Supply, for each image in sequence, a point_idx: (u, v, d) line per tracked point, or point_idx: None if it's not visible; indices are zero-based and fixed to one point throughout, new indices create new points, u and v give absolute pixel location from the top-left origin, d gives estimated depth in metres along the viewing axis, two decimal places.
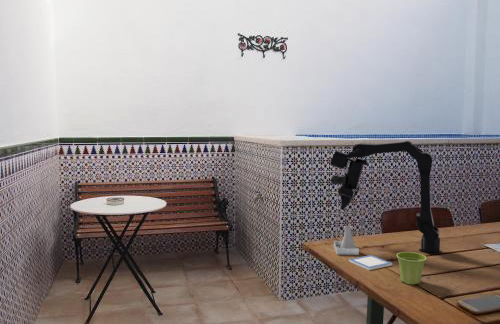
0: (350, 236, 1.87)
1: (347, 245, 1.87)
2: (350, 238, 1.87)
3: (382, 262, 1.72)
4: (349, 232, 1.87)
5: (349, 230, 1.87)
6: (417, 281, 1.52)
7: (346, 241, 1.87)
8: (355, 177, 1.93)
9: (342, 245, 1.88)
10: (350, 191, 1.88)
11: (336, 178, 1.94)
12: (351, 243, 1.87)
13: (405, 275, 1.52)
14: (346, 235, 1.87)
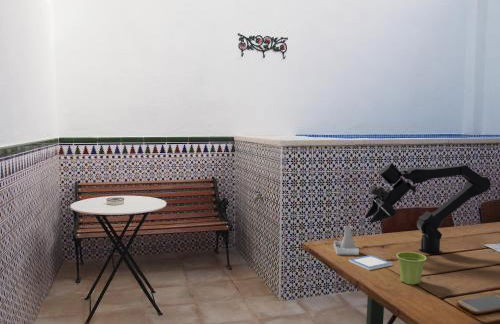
0: (350, 236, 1.87)
1: (347, 245, 1.87)
2: (350, 238, 1.87)
3: (382, 262, 1.72)
4: (349, 232, 1.87)
5: (349, 230, 1.87)
6: (417, 281, 1.52)
7: (346, 241, 1.87)
8: (398, 198, 1.83)
9: (342, 245, 1.88)
10: (394, 211, 1.77)
11: (381, 190, 1.82)
12: (351, 243, 1.87)
13: (405, 275, 1.52)
14: (346, 235, 1.87)
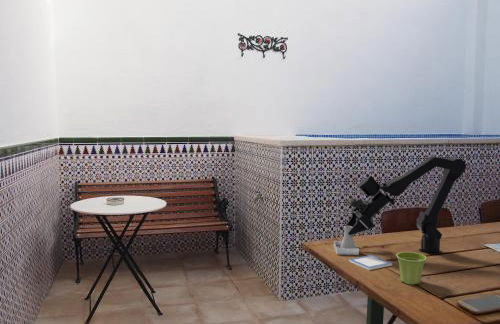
0: (350, 236, 1.87)
1: (347, 245, 1.87)
2: (350, 238, 1.87)
3: (382, 262, 1.72)
4: None
5: (349, 230, 1.87)
6: (417, 281, 1.52)
7: (346, 241, 1.87)
8: (376, 210, 1.84)
9: (342, 245, 1.88)
10: (371, 224, 1.78)
11: (360, 203, 1.83)
12: (351, 243, 1.87)
13: (405, 275, 1.52)
14: (346, 235, 1.87)
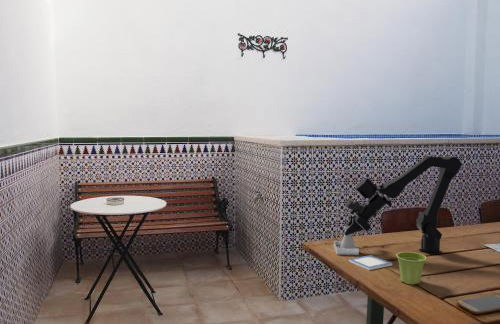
0: (350, 236, 1.87)
1: (347, 245, 1.87)
2: (350, 238, 1.87)
3: (382, 262, 1.72)
4: None
5: None
6: (417, 281, 1.52)
7: (346, 241, 1.87)
8: (373, 212, 1.84)
9: (342, 245, 1.88)
10: (368, 226, 1.78)
11: (357, 205, 1.83)
12: (351, 243, 1.87)
13: (405, 275, 1.52)
14: (346, 235, 1.87)
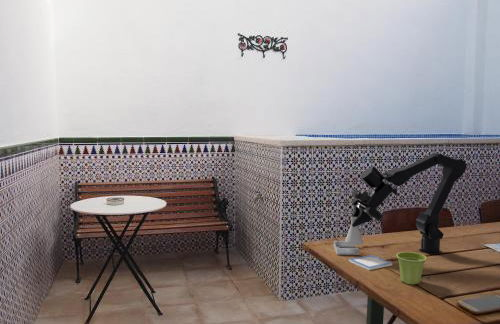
0: (357, 227, 1.80)
1: (355, 237, 1.80)
2: (357, 229, 1.80)
3: (382, 262, 1.72)
4: None
5: None
6: (417, 281, 1.52)
7: (354, 233, 1.80)
8: (381, 201, 1.79)
9: (349, 237, 1.80)
10: (380, 215, 1.73)
11: (366, 194, 1.76)
12: (359, 234, 1.80)
13: (405, 275, 1.52)
14: None
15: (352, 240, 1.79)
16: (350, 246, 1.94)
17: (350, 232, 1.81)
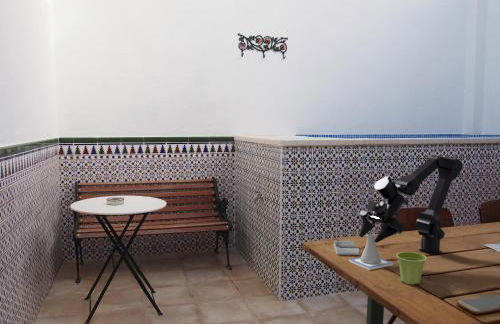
0: (374, 245, 1.72)
1: (374, 255, 1.71)
2: (375, 247, 1.72)
3: (382, 262, 1.72)
4: (373, 240, 1.72)
5: (373, 238, 1.72)
6: (417, 281, 1.52)
7: (372, 251, 1.71)
8: (396, 213, 1.73)
9: (368, 256, 1.71)
10: (402, 227, 1.67)
11: (385, 206, 1.69)
12: (376, 252, 1.72)
13: (405, 275, 1.52)
14: (371, 244, 1.71)
15: (371, 259, 1.70)
16: (350, 246, 1.94)
17: (368, 250, 1.71)
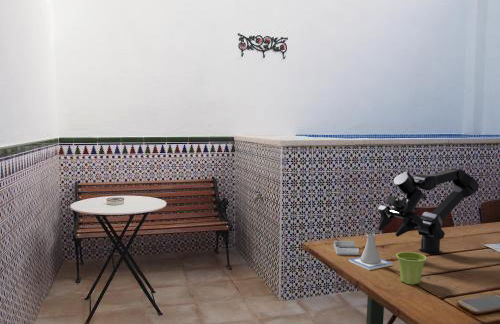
0: (374, 245, 1.72)
1: (374, 255, 1.71)
2: (375, 247, 1.72)
3: (382, 262, 1.72)
4: (373, 240, 1.72)
5: (373, 238, 1.72)
6: (417, 281, 1.52)
7: (372, 251, 1.71)
8: (414, 207, 1.77)
9: (368, 256, 1.71)
10: (422, 221, 1.71)
11: (405, 201, 1.73)
12: (376, 252, 1.72)
13: (405, 275, 1.52)
14: (371, 244, 1.71)
15: (371, 259, 1.70)
16: (350, 246, 1.94)
17: (368, 250, 1.71)
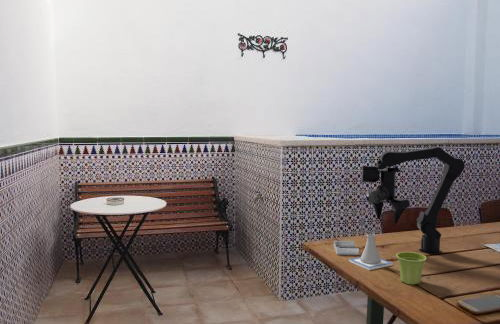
0: (374, 245, 1.72)
1: (374, 255, 1.71)
2: (375, 247, 1.72)
3: (382, 262, 1.72)
4: (373, 240, 1.72)
5: (373, 238, 1.72)
6: (417, 281, 1.52)
7: (372, 251, 1.71)
8: (394, 186, 1.85)
9: (368, 256, 1.71)
10: (408, 201, 1.80)
11: (384, 195, 1.81)
12: (376, 252, 1.72)
13: (405, 275, 1.52)
14: (371, 244, 1.71)
15: (371, 259, 1.70)
16: (350, 246, 1.94)
17: (368, 250, 1.71)
